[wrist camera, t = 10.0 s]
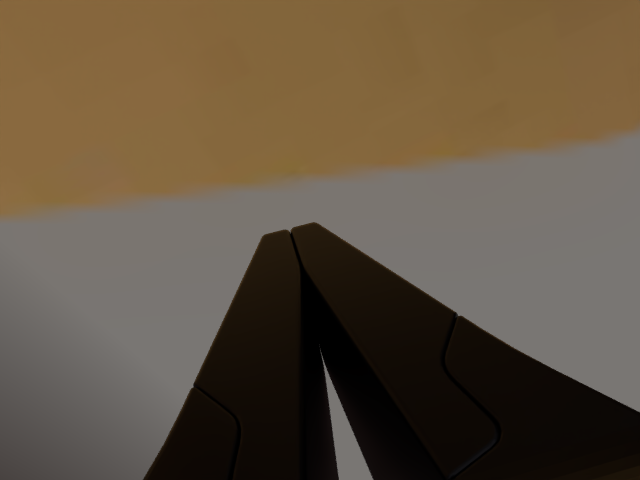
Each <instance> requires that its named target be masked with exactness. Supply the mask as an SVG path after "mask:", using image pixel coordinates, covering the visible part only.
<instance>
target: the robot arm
mask: <svg viewBox="0 0 640 480" xmlns="http://www.w3.org/2000/svg"><path fill="white" fill-rule="evenodd" d="M319 346H320V347H319ZM320 350H321V351H320ZM321 353H322V356H323V360H324V363H325V366H326V368H327V371H328V374H329V376H330V379H331V381H332V383H333V386H334V388H335V390H336V393H337V395H338V398H339V400H340V402H341V405H342V407H343V409H344V412H345V414H346V416H347V419H348V421H349V423H350V426H351V428H352V431H353V433H354V435H355V438H356V440H357V442H358V445H359V447H360V449H361V452H362V454H363V457H364V459H365V461H366V464H367V466H368V468H369V471H370V473H371V476H372V478H373V480H640V412H638V411H636V410H634V409H632V408H630V407H628V406H626V405H624V404H622V403H620V402H618V401H616V400H614V399H612V398H610V397H608V396H606V395H604V394H602V393H600V392H598V391H596V390H594V389H592V388H590V387H588V386H586V385H584V384H582V383H580V382H578V381H576V380H574V379H572V378H570V377H568V376H566V375H564V374H562V373H560V372H558V371H556V370H554V369H552V368H550V367H549V366H547V365H545V364H543V363H541V362H539V361H537V360H535V359H533V358H532V357H530V356H528V355H526V354H524V353H522V352H520V351H518V350H517V349H515V348H513V347H511V346H510V345H508V344H506V343H505V342H503V341H501V340H500V339H498V338H496V337H495V336H493V335H491V334H490V333H488V332H486V331H485V330H483V329H481V328H480V327H478V326H477V325H475V324H474V323H472V322H471V321H469V320H467V319H466V318H464V317H463V316H458V314H457V313H456V312H454V311H453V310H451V309H450V308H448V307H447V306H445V305H443V304H442V303H440V302H439V301H437V300H436V299H434V298H433V297H431V296H429V295H428V294H427V293H425V292H424V291H422V290H420V289H419V288H417V287H416V286H414V285H413V284H411V283H409V282H408V281H406V280H405V279H403V278H402V277H400V276H399V275H397V274H396V273H394V272H392V271H391V270H389V269H388V268H386V267H385V266H383V265H382V264H380V263H378V262H377V261H375V260H374V259H372V258H370V257H369V256H368V255H366V254H364V253H363V252H361V251H360V250H358V249H357V248H355V247H354V246H352V245H351V244H349V243H347V242H346V241H344V240H343V239H341V238H340V237H338V236H337V235H335V234H333V233H332V232H330V231H329V230H327V229H326V228H324V227H322V226H321V225H319V224H317V223H315V222H313V223H309V224H305V225H301V226H297V227H294V228H292V229H291V234H290V232H289V231H288V230H281V231H277V232H273V233H269V234H265V235H264V236H263V237H262V238H261V241H260V243H259V245H258V247H257V249H256V251H255V254H254V255H253V258H252V260H251V262H250V264H249V266H248V268H247V270H246V273H245V275H244V277H243V279H242V281H241V283H240V286H239V288H238V290H237V292H236V294H235V296H234V298H233V300H232V303H231V305H230V307H229V309H228V311H227V313H226V315H225V318H224V320H223V322H222V324H221V326H220V328H219V331H218V333H217V335H216V337H215V339H214V341H213V343H212V346H211V347H210V350H209V352H208V354H207V356H206V358H205V360H204V363H203V365H202V367H201V369H200V371H199V373H198V375H197V377H196V380H195V382H194V384H193V386H194V387H193V388H191V390H190V392H189V394H188V396H187V398H186V400H185V403H184V405H183V407H182V409H181V411H180V413H179V415H178V417H177V419H176V421H175V423H174V425H173V427H172V429H171V431H170V433H169V435H168V437H167V439H166V441H165V443H164V445H163V446H162V448H161V450H160V451H159V453H158V455H157V457H156V458H155V460H154V462H153V464H152V465H151V467H150V468H149V470H148V472H147V474H146V475H145V477H144V479H143V480H339V477H338V469H337V461H336V454H335V447H334V438H333V431H332V423H331V415H330V407H329V400H328V392H327V384H326V377H325V371H324V365H323V360H322V356H321Z"/></svg>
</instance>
